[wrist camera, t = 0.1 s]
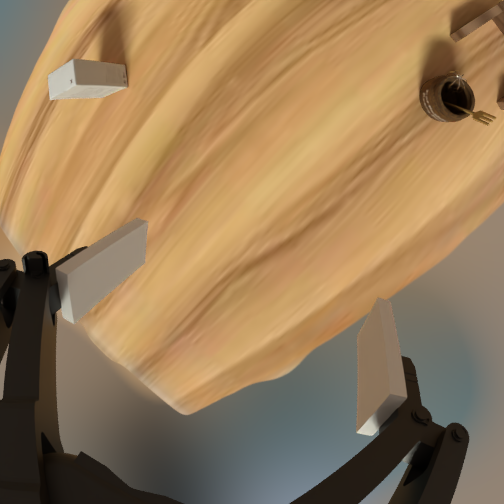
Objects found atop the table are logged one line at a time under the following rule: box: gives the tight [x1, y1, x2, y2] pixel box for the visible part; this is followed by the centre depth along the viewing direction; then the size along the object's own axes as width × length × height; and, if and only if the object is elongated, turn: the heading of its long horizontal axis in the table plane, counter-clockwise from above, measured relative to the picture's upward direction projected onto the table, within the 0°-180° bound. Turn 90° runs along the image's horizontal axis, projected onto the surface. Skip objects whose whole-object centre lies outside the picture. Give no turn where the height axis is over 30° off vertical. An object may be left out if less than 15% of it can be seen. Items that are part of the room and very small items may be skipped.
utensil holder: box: [420, 70, 496, 126], centre depth 26 cm, size 6×6×12 cm
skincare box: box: [48, 59, 128, 100], centre depth 36 cm, size 6×4×12 cm
